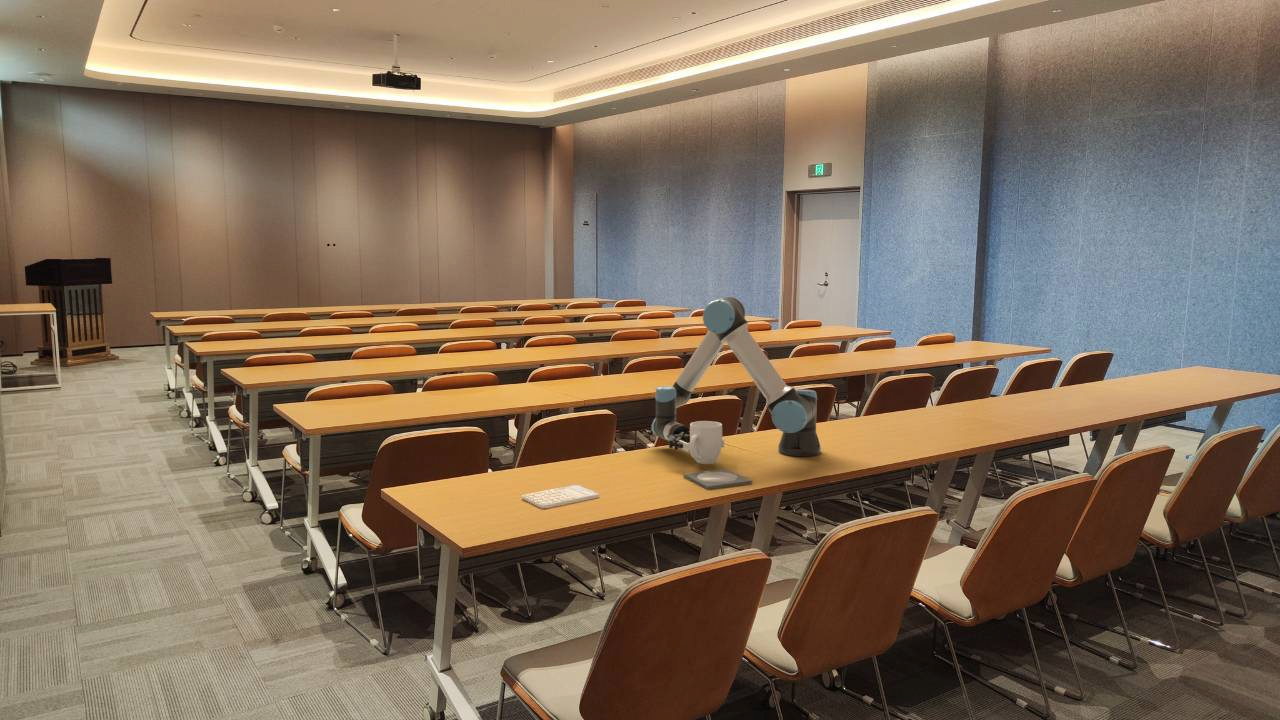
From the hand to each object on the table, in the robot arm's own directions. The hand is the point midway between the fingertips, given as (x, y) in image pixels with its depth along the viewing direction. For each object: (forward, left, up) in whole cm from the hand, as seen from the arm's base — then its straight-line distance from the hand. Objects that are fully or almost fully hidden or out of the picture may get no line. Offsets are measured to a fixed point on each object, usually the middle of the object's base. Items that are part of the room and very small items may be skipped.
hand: (706, 445), depth 291 cm
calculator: (+56, +12, -9) cm, 58 cm away
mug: (0, -1, -6) cm, 6 cm away
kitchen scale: (+4, +15, -8) cm, 17 cm away
